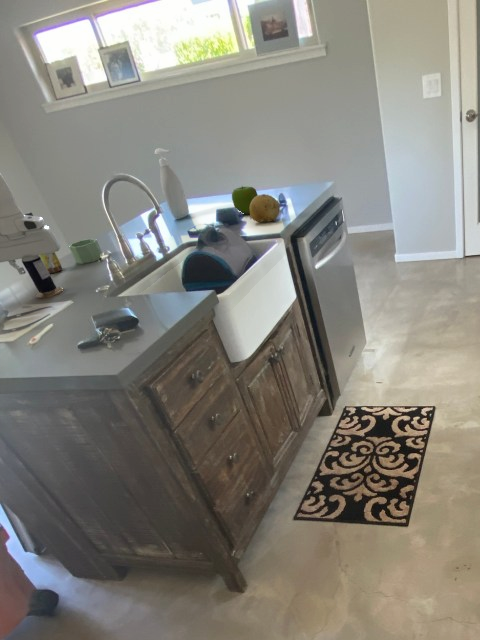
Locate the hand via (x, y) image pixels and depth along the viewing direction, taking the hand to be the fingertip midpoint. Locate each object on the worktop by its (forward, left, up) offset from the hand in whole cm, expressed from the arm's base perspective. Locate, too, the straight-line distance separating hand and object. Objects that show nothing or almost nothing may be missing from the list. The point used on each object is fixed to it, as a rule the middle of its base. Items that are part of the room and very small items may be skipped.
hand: (37, 270), depth 172 cm
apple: (+74, +63, -8) cm, 97 cm away
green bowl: (+8, +37, -7) cm, 39 cm away
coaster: (0, 0, -7) cm, 7 cm away
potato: (+80, +40, -8) cm, 90 cm away
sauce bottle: (-4, +29, -8) cm, 30 cm away
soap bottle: (+44, +83, -8) cm, 94 cm away
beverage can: (0, 0, -7) cm, 7 cm away
